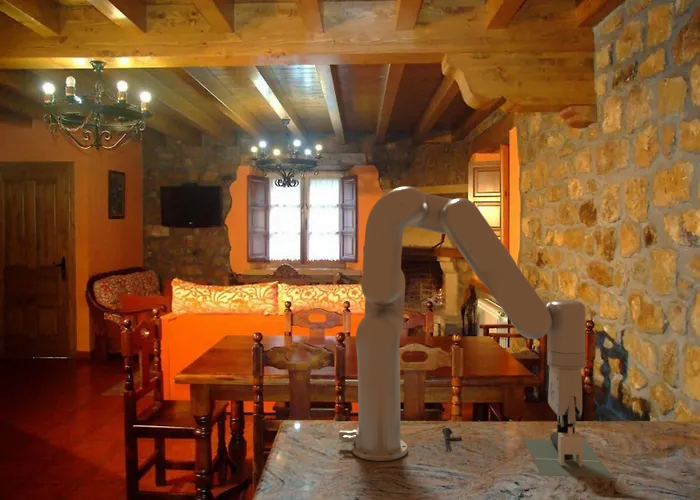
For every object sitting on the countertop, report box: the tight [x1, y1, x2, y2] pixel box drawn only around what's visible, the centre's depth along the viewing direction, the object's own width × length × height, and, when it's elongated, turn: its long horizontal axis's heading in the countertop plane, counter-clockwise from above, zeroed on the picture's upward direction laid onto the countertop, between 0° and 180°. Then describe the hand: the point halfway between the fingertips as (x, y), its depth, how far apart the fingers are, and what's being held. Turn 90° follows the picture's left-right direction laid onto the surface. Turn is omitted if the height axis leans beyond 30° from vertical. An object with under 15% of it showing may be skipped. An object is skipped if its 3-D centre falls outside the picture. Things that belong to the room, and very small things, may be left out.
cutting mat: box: [522, 438, 615, 479], centre depth 121 cm, size 14×20×1 cm
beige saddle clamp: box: [558, 427, 584, 466], centre depth 116 cm, size 4×2×8 cm, turn 83°
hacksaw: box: [442, 427, 468, 466], centre depth 127 cm, size 24×10×2 cm, turn 174°
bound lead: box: [549, 431, 573, 460], centre depth 123 cm, size 2×10×2 cm, turn 173°
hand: (565, 444), depth 119 cm, fingers closed
